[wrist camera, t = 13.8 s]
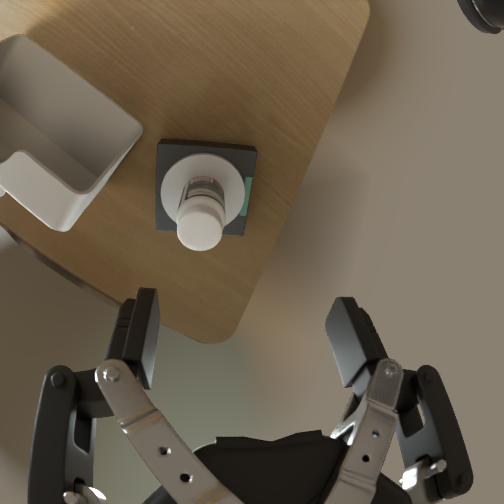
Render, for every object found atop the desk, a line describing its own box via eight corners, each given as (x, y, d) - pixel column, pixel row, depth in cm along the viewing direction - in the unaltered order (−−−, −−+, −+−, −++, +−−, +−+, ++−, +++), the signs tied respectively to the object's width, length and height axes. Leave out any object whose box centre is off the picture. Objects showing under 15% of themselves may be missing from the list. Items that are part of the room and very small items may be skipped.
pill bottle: (205, 220, 33) (203, 263, 26) (174, 196, 31) (162, 236, 24) (233, 192, 32) (238, 230, 25) (201, 166, 29) (195, 198, 22)
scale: (255, 146, 32) (258, 153, 29) (241, 226, 38) (243, 239, 35) (161, 138, 30) (155, 145, 27) (159, 220, 36) (155, 233, 33)
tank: (-24, 129, 22) (-79, 160, 12) (21, 32, 17) (-42, 34, 7) (82, 219, 34) (44, 278, 24) (147, 128, 29) (111, 159, 19)
